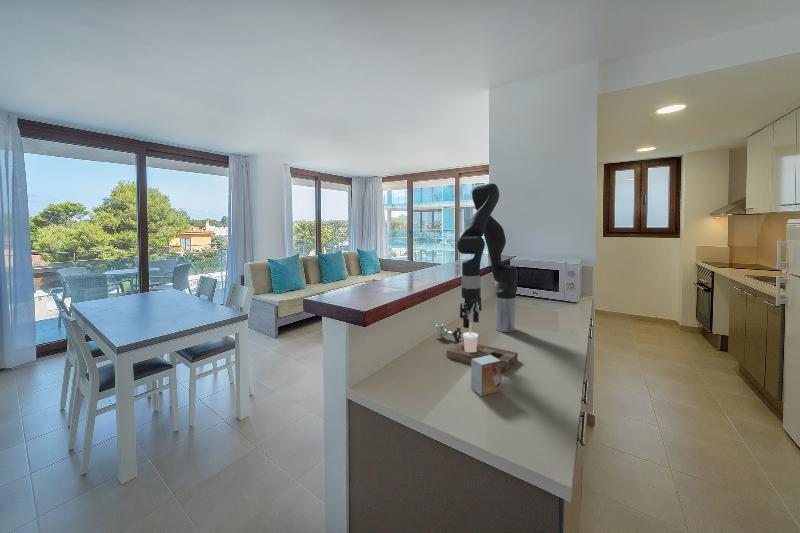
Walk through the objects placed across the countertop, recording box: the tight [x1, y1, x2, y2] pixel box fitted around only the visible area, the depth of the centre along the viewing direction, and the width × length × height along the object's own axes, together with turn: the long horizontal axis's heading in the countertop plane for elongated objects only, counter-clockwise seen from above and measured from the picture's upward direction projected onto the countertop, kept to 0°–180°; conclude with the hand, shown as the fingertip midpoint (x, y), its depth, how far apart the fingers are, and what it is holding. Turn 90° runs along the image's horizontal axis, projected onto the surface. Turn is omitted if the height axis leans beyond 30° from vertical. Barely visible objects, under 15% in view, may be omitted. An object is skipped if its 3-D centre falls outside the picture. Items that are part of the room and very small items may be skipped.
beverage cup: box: [462, 322, 479, 352], centre depth 131 cm, size 6×6×14 cm
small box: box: [470, 355, 502, 397], centre depth 104 cm, size 8×6×10 cm
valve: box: [434, 323, 463, 343], centre depth 151 cm, size 7×7×12 cm
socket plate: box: [446, 339, 519, 374], centre depth 128 cm, size 14×24×3 cm, turn 50°
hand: (471, 324), depth 130 cm, fingers open, 8 cm apart
